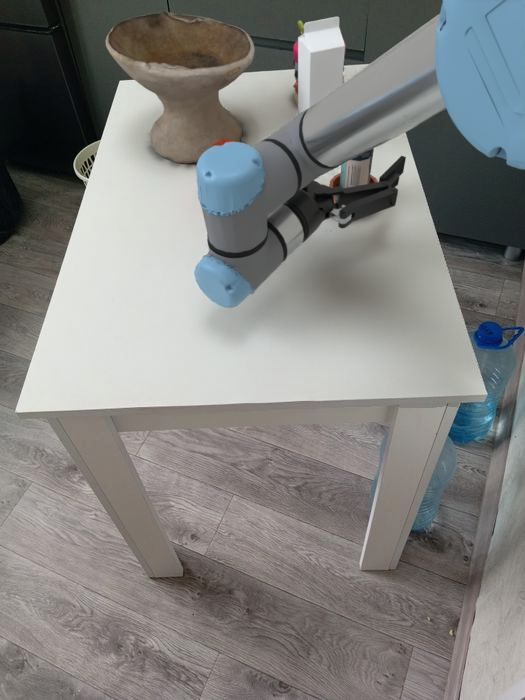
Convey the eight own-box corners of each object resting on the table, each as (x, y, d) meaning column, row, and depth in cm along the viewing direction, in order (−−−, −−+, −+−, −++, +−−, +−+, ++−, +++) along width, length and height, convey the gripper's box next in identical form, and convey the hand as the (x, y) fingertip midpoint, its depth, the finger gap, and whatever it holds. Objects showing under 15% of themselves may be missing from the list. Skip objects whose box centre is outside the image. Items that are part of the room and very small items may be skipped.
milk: (297, 142, 99) (296, 15, 82) (327, 135, 100) (332, 8, 83) (308, 159, 96) (309, 30, 78) (338, 152, 97) (346, 23, 79)
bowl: (258, 174, 94) (249, 61, 78) (124, 179, 95) (88, 69, 79) (261, 102, 109) (255, -6, 93) (145, 107, 110) (119, 2, 94)
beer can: (372, 200, 87) (382, 135, 77) (352, 213, 85) (359, 147, 75) (353, 187, 89) (359, 122, 79) (332, 199, 88) (336, 134, 78)
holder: (383, 213, 86) (386, 195, 83) (336, 222, 85) (337, 204, 82) (367, 184, 90) (369, 166, 87) (322, 193, 90) (323, 175, 87)
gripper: (220, 213, 80) (299, 147, 89) (358, 279, 70) (431, 197, 79) (214, 171, 74) (299, 105, 83) (364, 236, 64) (442, 153, 73)
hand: (364, 150), depth 81 cm, fingers open, 13 cm apart
